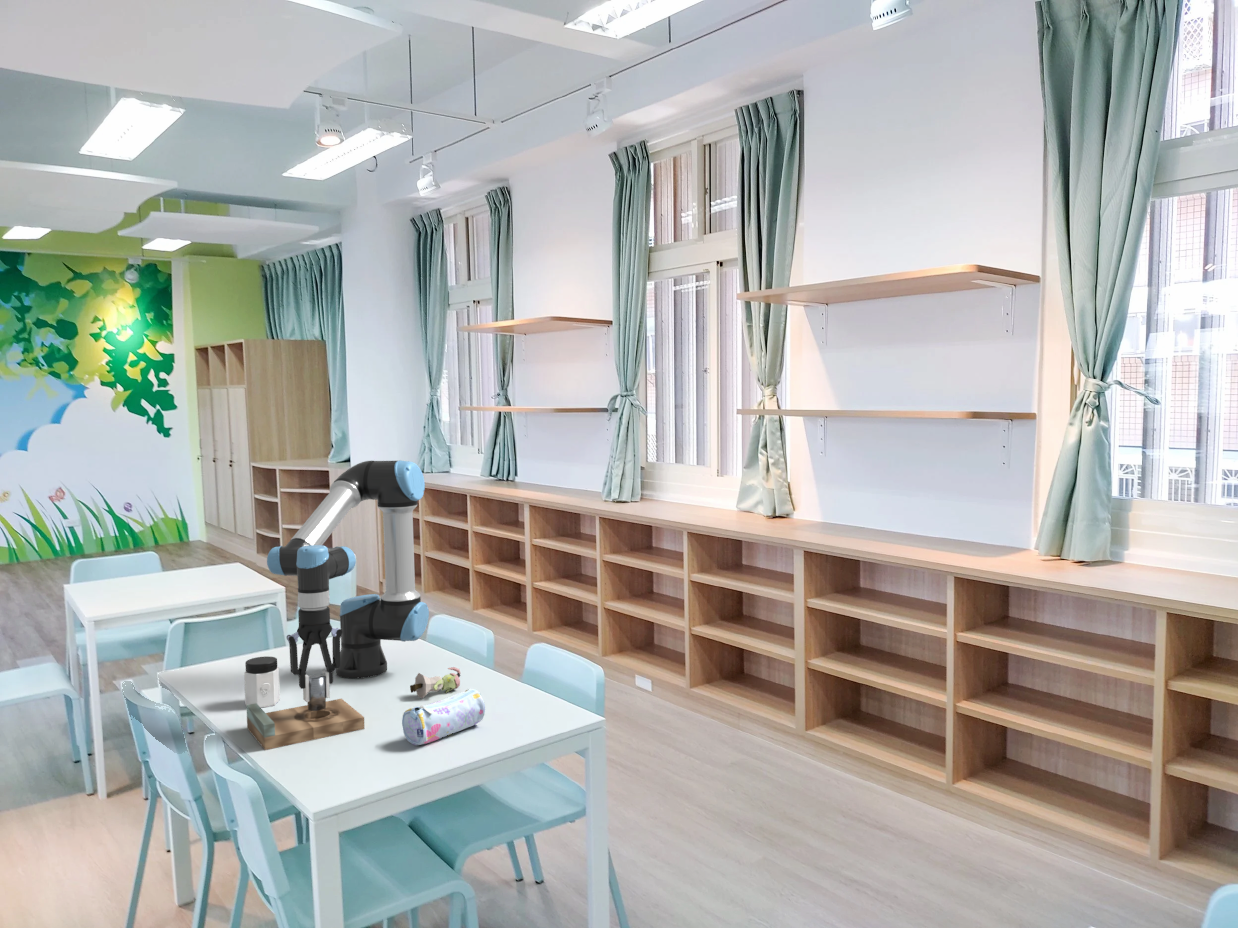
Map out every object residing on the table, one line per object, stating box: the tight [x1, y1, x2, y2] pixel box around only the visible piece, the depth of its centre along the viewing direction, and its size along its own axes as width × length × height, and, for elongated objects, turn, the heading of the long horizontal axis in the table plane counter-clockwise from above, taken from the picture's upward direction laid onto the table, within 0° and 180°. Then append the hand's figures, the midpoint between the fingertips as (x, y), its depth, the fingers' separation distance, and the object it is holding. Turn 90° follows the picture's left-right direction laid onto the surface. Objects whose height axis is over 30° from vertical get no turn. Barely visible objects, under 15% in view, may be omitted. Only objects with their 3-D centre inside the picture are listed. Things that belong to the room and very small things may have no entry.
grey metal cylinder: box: [307, 674, 327, 711], centre depth 231 cm, size 4×4×8 cm
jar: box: [243, 655, 281, 709], centre depth 249 cm, size 9×8×12 cm
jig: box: [246, 698, 365, 751], centre depth 230 cm, size 24×18×6 cm
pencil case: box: [401, 688, 486, 746], centre depth 225 cm, size 21×9×10 cm, turn 139°
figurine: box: [409, 666, 461, 700], centre depth 257 cm, size 9×7×15 cm
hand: (316, 698), depth 231 cm, fingers closed on grey metal cylinder, 4 cm apart
